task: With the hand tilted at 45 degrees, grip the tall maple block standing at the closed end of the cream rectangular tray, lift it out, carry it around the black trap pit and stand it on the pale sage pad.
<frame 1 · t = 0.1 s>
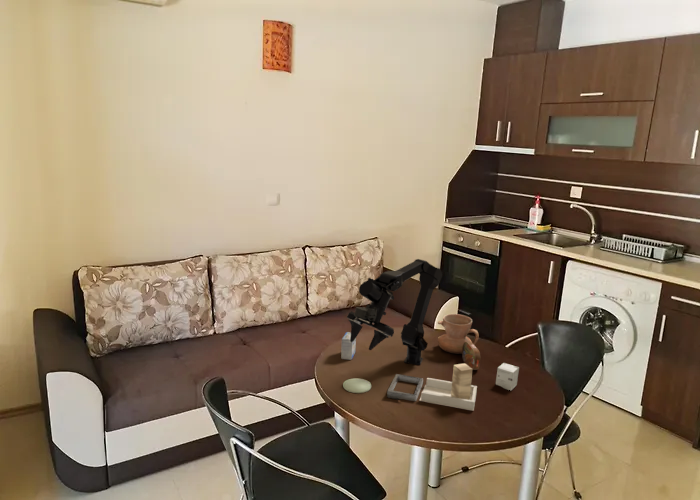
hand: (360, 345, 181), 15 cm above the table, tool tilted 35°, fingers open, 9 cm apart
skincare box: (506, 386, 188), on the table
tin: (470, 365, 204), on the table
medicine box: (348, 356, 209), on the table
ceramic jug: (456, 350, 218), on the table
trap pit: (405, 391, 181), on the table
cream rectangular tray: (448, 398, 177), on the table
maple block: (460, 399, 175), point 1 cm above the table, touching cream rectangular tray
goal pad: (357, 386, 183), on the table
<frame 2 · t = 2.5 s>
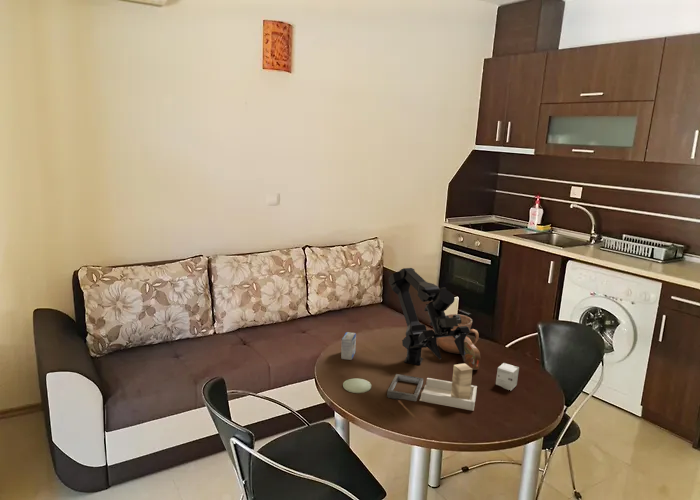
hand: (451, 357, 179), 13 cm above the table, tool tilted 45°, fingers open, 9 cm apart
nothing on the table moved.
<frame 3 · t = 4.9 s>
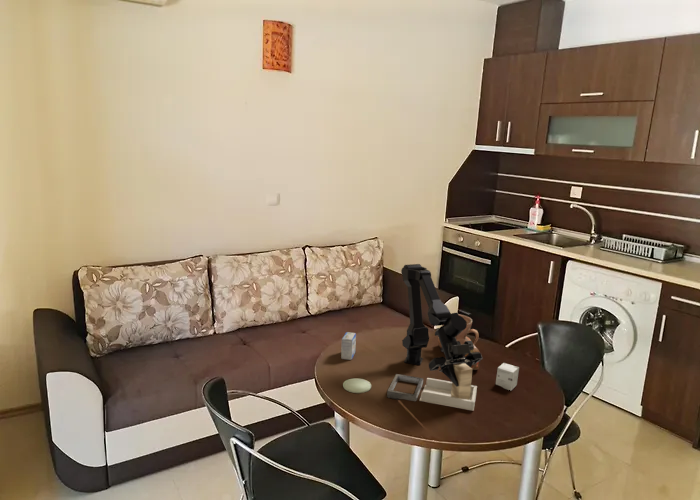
hand: (463, 385, 173), 7 cm above the table, tool tilted 45°, fingers closed on maple block, 4 cm apart
maple block: (460, 399, 175), point 1 cm above the table, touching gripper, cream rectangular tray
everything else where it was.
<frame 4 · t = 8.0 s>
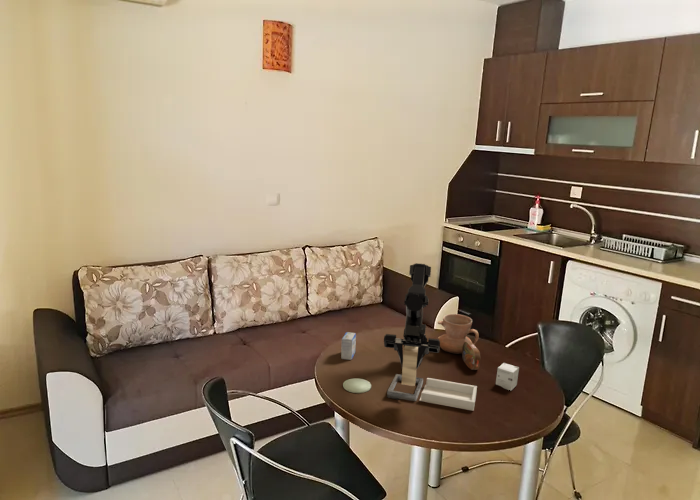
hand: (409, 367, 169), 13 cm above the table, tool tilted 45°, fingers closed on maple block, 4 cm apart
maple block: (408, 382, 171), point 7 cm above the table, touching gripper
everything else where it was.
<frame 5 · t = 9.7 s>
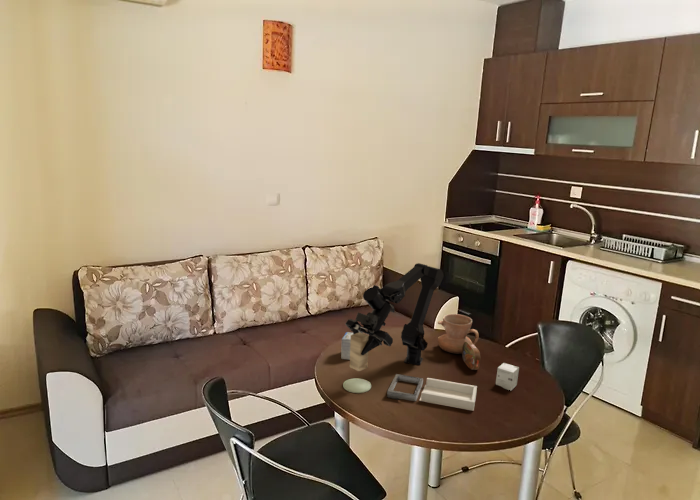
hand: (356, 352, 179), 13 cm above the table, tool tilted 45°, fingers closed on maple block, 4 cm apart
maple block: (358, 367, 181), point 7 cm above the table, touching gripper
everything else where it was.
when the fingers open (8 cm above the table, at t = 11.2 s): maple block drops 2 cm, resting on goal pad.
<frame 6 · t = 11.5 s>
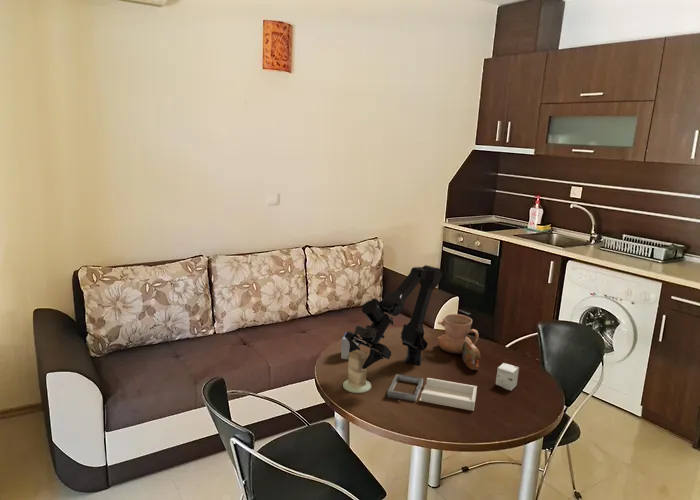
hand: (355, 365, 180), 9 cm above the table, tool tilted 45°, fingers open, 7 cm apart
maple block: (357, 384, 183), point 1 cm above the table, touching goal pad
everything else where it was.
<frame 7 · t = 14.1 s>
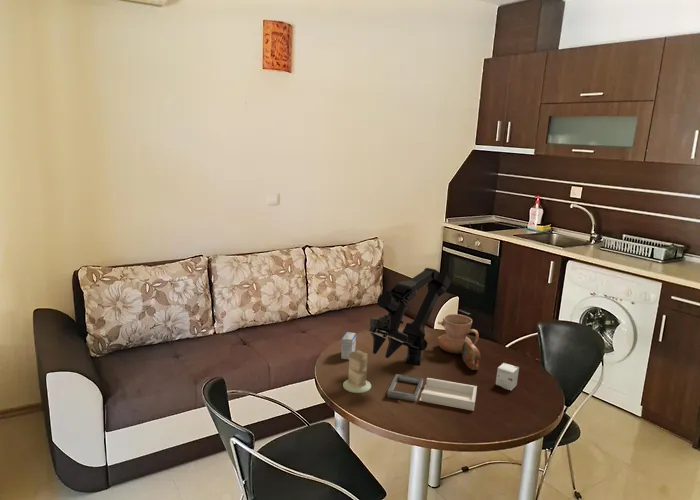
hand: (380, 355, 187), 9 cm above the table, tool tilted 30°, fingers open, 9 cm apart
nothing on the table moved.
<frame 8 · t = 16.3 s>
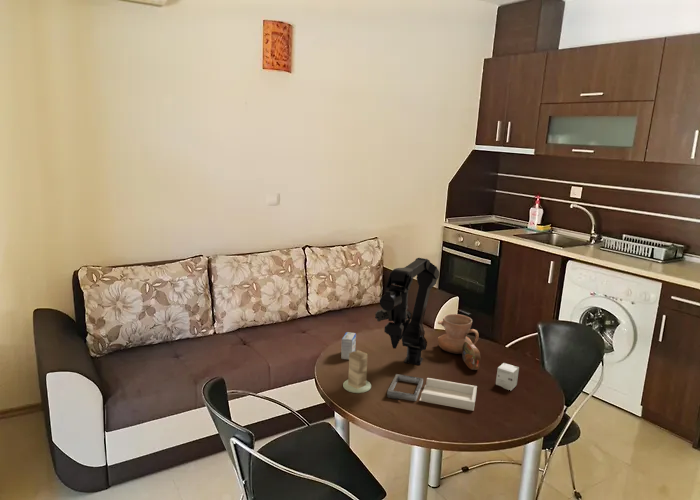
hand: (397, 343, 189), 13 cm above the table, tool pointing down, fingers open, 9 cm apart
nothing on the table moved.
at the end: maple block 0.1 cm off-centre on the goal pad, point 0.6 cm above the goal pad's base; maple block tilted 0°; maple block touching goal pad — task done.
